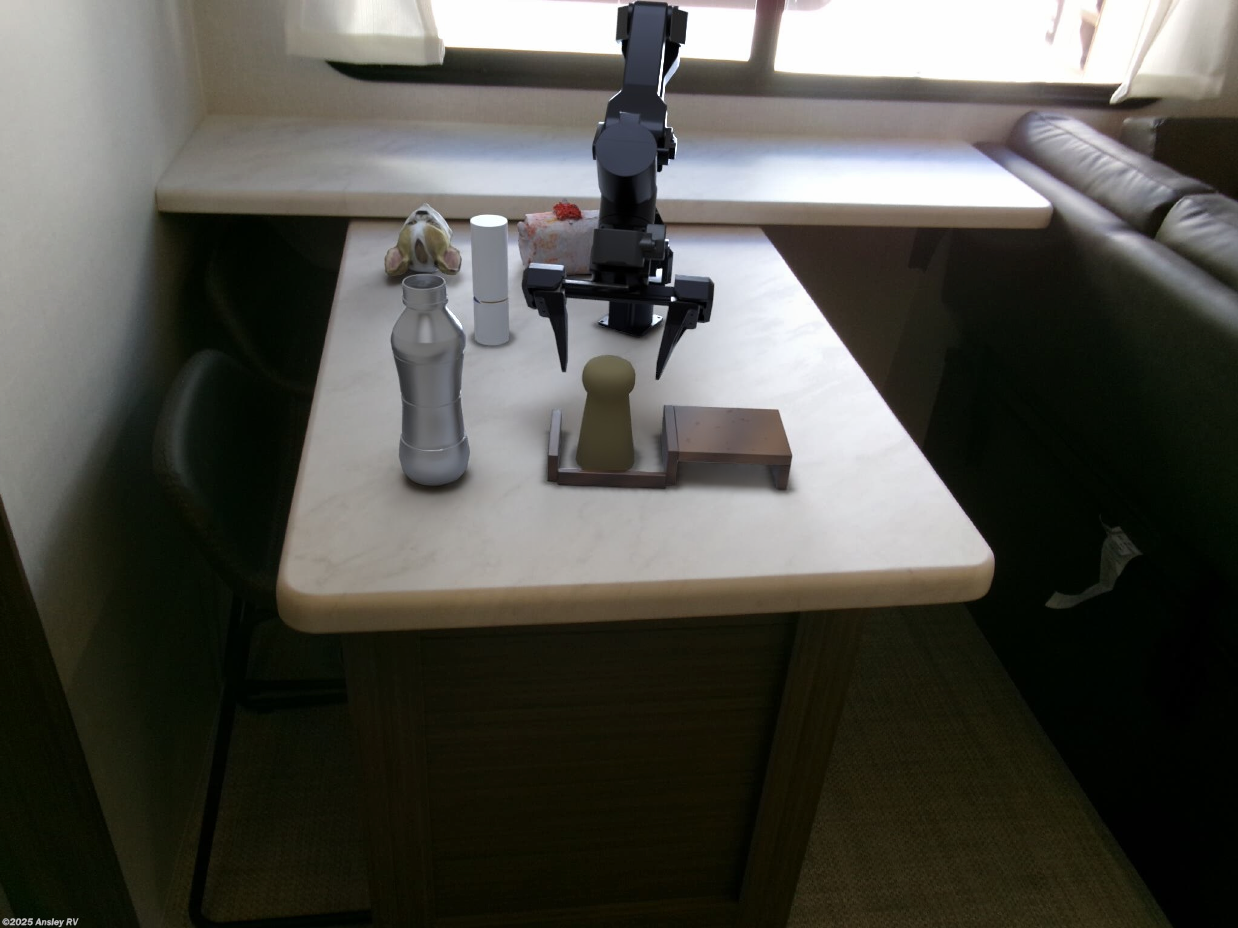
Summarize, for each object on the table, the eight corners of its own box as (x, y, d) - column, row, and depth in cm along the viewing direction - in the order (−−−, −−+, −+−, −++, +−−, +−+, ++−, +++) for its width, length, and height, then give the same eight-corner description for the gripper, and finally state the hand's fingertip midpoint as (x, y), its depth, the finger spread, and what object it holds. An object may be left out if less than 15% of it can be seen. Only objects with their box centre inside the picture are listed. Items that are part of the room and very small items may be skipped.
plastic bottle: (404, 457, 95) (387, 267, 84) (472, 457, 95) (465, 268, 84) (397, 494, 89) (378, 296, 78) (469, 494, 90) (461, 297, 79)
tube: (515, 335, 120) (514, 219, 111) (498, 348, 116) (495, 229, 108) (486, 328, 121) (482, 212, 113) (468, 340, 118) (463, 222, 110)
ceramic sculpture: (461, 192, 139) (458, 233, 127) (464, 248, 144) (462, 292, 132) (387, 192, 137) (377, 233, 125) (393, 248, 142) (384, 293, 130)
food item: (525, 282, 134) (524, 214, 129) (516, 261, 141) (515, 196, 135) (618, 277, 137) (621, 210, 132) (605, 257, 144) (608, 193, 139)
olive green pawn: (628, 478, 93) (634, 379, 87) (569, 469, 94) (571, 370, 88) (639, 447, 98) (646, 351, 92) (583, 439, 99) (586, 343, 93)
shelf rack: (547, 484, 92) (547, 449, 90) (552, 433, 100) (552, 400, 98) (787, 492, 93) (793, 458, 91) (773, 441, 101) (778, 409, 99)
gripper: (524, 181, 89) (503, 338, 85) (724, 196, 88) (711, 355, 84) (537, 235, 99) (519, 376, 96) (715, 249, 99) (703, 392, 95)
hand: (610, 375), depth 93 cm, fingers open, 9 cm apart
